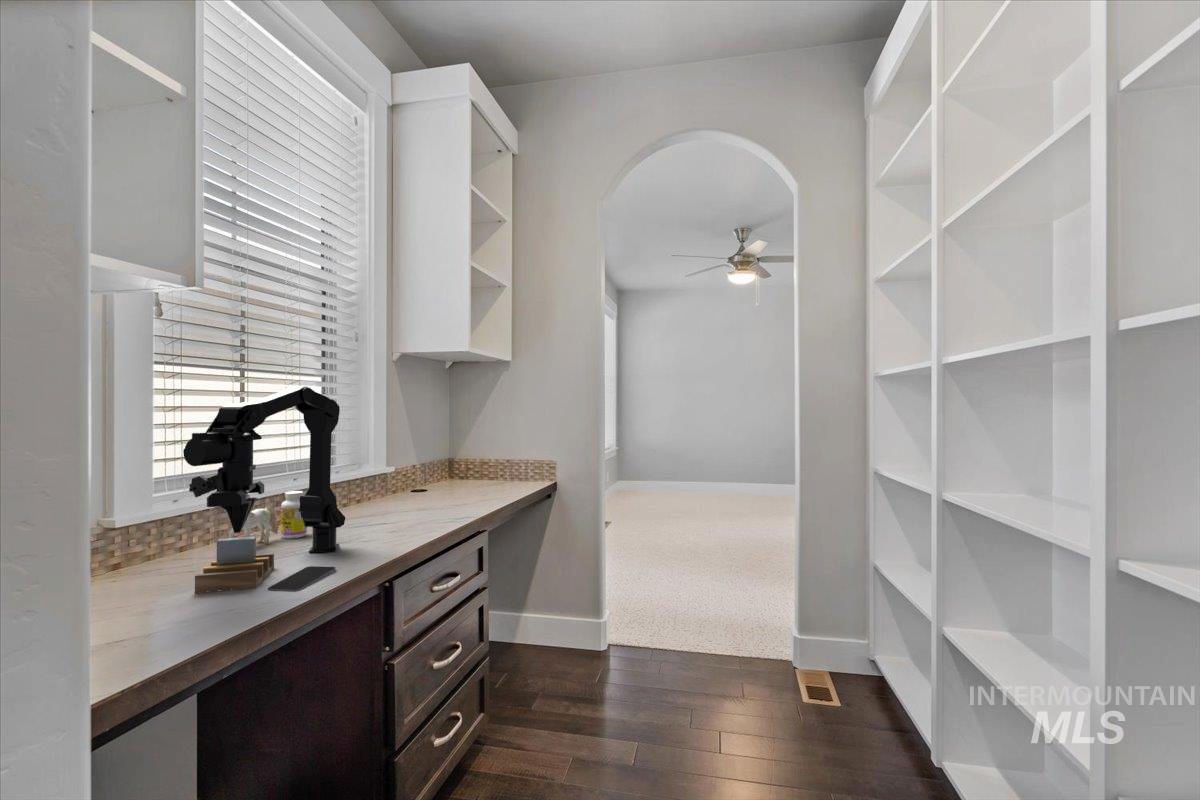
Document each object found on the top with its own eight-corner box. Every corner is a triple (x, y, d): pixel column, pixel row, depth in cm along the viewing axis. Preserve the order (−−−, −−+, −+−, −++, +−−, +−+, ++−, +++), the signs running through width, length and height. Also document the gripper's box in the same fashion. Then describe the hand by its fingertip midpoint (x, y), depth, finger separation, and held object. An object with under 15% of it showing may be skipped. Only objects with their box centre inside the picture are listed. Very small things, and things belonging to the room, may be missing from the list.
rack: (220, 572, 130) (220, 555, 130) (273, 568, 134) (274, 551, 134) (194, 593, 116) (194, 574, 116) (255, 588, 119) (255, 569, 119)
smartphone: (264, 589, 118) (307, 566, 133) (264, 594, 118) (307, 570, 133) (298, 590, 117) (337, 566, 132) (298, 595, 117) (337, 571, 132)
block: (219, 575, 125) (219, 538, 125) (255, 572, 127) (256, 536, 127) (216, 577, 123) (216, 540, 123) (253, 575, 125) (253, 538, 125)
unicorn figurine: (214, 558, 142) (214, 504, 142) (253, 539, 161) (253, 492, 162) (245, 557, 143) (245, 504, 143) (280, 538, 162) (280, 492, 162)
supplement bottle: (276, 536, 165) (276, 492, 165) (299, 532, 170) (299, 489, 170) (288, 540, 161) (288, 494, 161) (311, 535, 166) (311, 491, 166)
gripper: (210, 458, 132) (210, 525, 131) (177, 467, 114) (176, 545, 114) (265, 457, 135) (264, 523, 135) (240, 465, 117) (240, 541, 117)
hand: (237, 532), depth 125 cm, fingers closed
